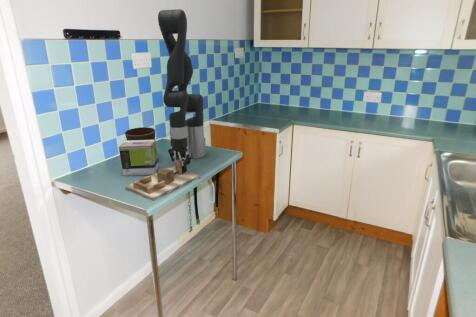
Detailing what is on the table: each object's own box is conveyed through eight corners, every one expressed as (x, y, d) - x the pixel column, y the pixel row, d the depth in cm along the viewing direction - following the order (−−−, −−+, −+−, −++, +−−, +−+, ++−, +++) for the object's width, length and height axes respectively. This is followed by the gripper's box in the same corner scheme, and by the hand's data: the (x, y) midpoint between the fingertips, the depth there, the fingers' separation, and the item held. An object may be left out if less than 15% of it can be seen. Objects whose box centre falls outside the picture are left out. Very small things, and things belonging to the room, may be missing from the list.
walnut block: (178, 171, 150) (177, 157, 148) (186, 173, 148) (185, 159, 146) (157, 182, 139) (156, 167, 136) (166, 184, 136) (165, 169, 134)
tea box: (159, 167, 158) (156, 138, 153) (155, 175, 149) (151, 145, 144) (128, 167, 158) (124, 139, 153) (122, 176, 149) (118, 146, 143)
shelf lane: (172, 168, 156) (172, 161, 155) (199, 177, 146) (199, 170, 145) (125, 188, 136) (124, 181, 135) (153, 200, 126) (152, 192, 125)
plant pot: (149, 166, 159) (146, 136, 153) (123, 164, 162) (118, 134, 156) (163, 156, 172) (160, 128, 167) (138, 154, 176) (134, 126, 170)
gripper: (196, 136, 141) (198, 172, 147) (174, 131, 149) (176, 165, 155) (183, 140, 135) (186, 177, 141) (161, 135, 143) (165, 170, 149)
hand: (181, 171), depth 148 cm, fingers closed on walnut block, 3 cm apart
